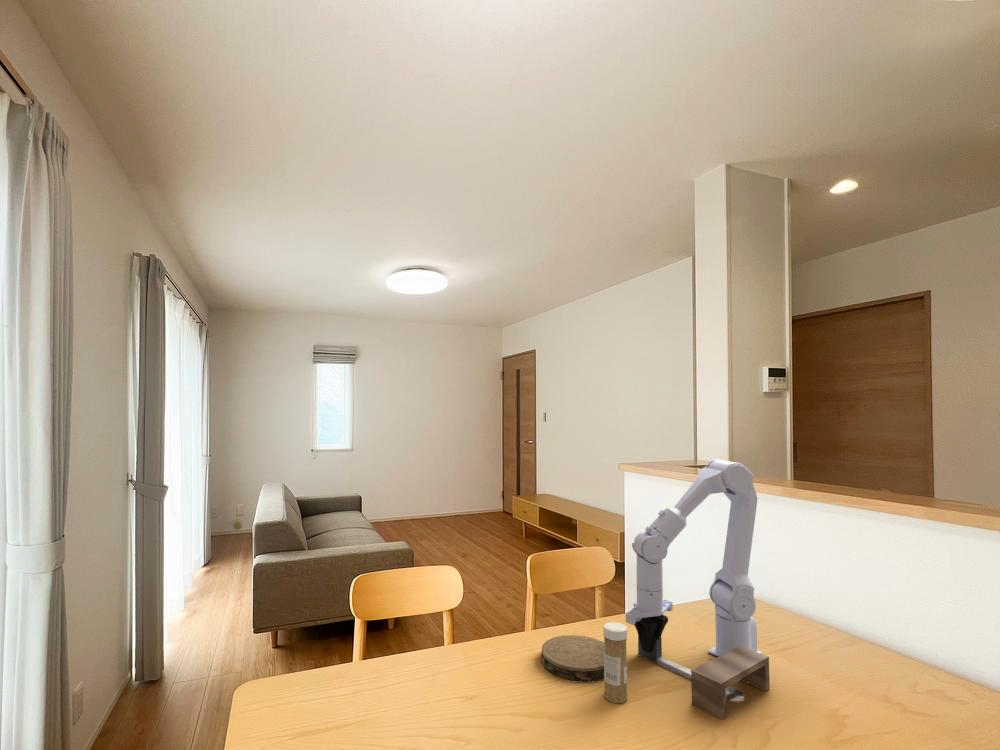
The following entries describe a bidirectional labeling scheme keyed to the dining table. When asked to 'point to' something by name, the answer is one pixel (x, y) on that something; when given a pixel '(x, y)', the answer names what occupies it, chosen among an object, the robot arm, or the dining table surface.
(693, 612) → the dining table surface
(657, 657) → the blade tool
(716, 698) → the walnut shelf
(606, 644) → the sprinkles bottle
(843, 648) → the dining table surface
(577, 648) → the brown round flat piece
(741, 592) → the robot arm
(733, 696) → the steel token
